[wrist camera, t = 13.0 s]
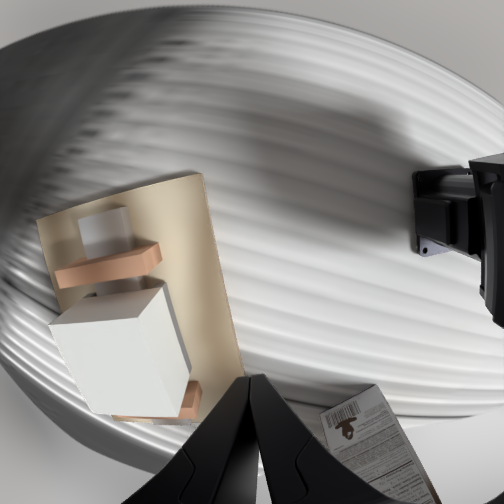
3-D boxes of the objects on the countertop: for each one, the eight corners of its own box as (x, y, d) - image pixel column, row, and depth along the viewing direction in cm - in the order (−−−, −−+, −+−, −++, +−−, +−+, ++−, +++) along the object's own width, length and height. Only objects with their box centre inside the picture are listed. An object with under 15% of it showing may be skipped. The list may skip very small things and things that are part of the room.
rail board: (202, 173, 18) (189, 171, 14) (254, 410, 23) (255, 444, 19) (43, 218, 19) (10, 226, 14) (117, 414, 23) (103, 442, 19)
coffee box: (396, 427, 24) (449, 534, 8) (345, 453, 25) (379, 567, 9) (376, 381, 22) (452, 520, 7) (315, 413, 23) (352, 565, 7)
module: (166, 281, 19) (137, 317, 13) (192, 367, 20) (177, 417, 15) (88, 293, 19) (48, 324, 13) (118, 370, 20) (92, 412, 15)
